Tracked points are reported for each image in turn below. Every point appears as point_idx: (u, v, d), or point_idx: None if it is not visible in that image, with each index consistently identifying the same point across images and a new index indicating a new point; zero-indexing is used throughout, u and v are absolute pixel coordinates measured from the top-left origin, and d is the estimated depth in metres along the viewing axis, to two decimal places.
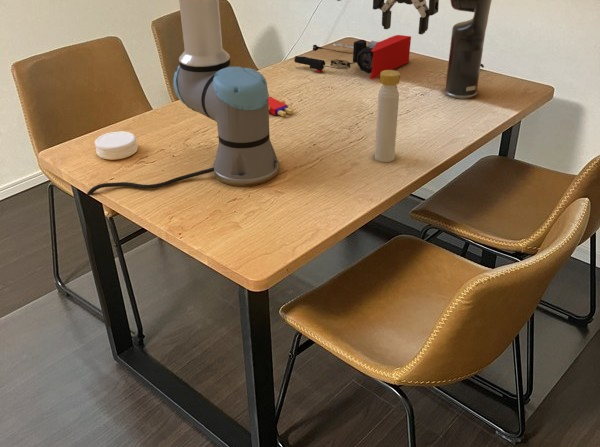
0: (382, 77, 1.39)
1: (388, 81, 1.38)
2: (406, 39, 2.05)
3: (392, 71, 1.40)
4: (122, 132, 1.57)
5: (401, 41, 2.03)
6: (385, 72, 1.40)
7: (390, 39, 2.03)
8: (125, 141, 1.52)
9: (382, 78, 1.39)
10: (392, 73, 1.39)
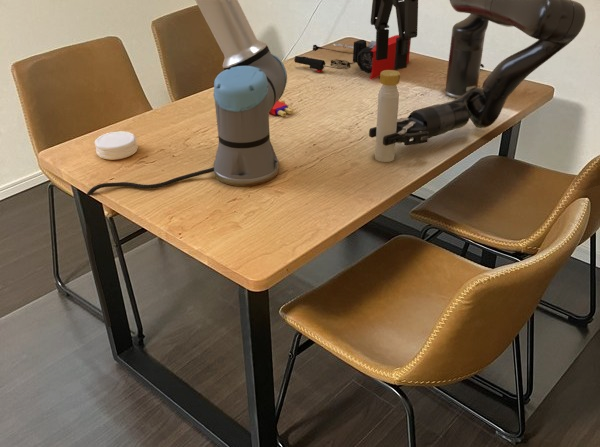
0: (382, 77, 1.39)
1: (388, 81, 1.38)
2: None
3: (392, 71, 1.40)
4: (122, 132, 1.57)
5: None
6: (385, 72, 1.40)
7: (390, 39, 2.03)
8: (125, 141, 1.52)
9: (382, 78, 1.39)
10: (392, 73, 1.39)
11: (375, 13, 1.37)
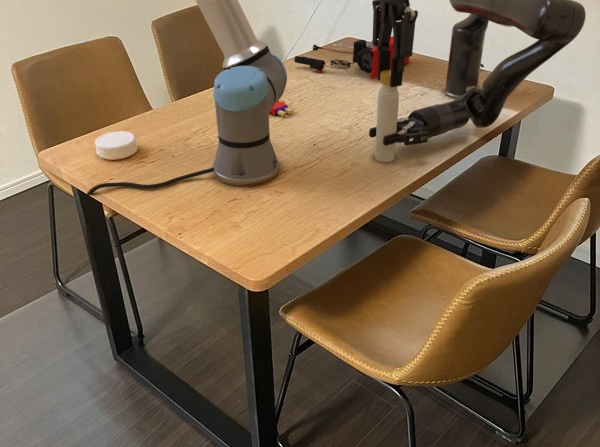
0: (382, 77, 1.39)
1: (388, 81, 1.38)
2: None
3: None
4: (122, 132, 1.57)
5: None
6: (385, 72, 1.40)
7: (390, 39, 2.03)
8: (125, 141, 1.52)
9: (382, 78, 1.39)
10: None
11: (376, 34, 1.38)
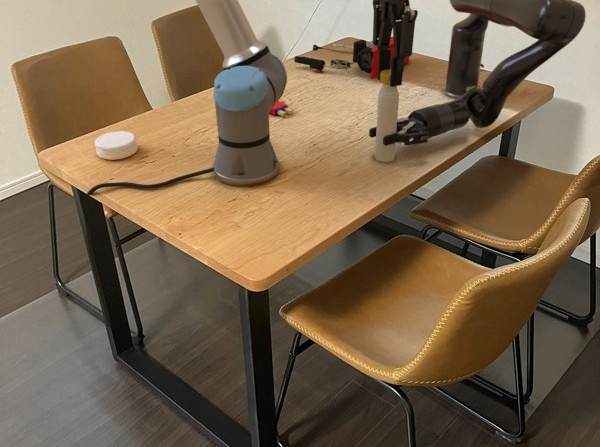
0: None
1: None
2: None
3: (384, 72, 1.40)
4: (122, 132, 1.57)
5: None
6: (390, 74, 1.39)
7: (390, 39, 2.03)
8: (125, 141, 1.52)
9: None
10: (389, 71, 1.40)
11: (377, 33, 1.38)
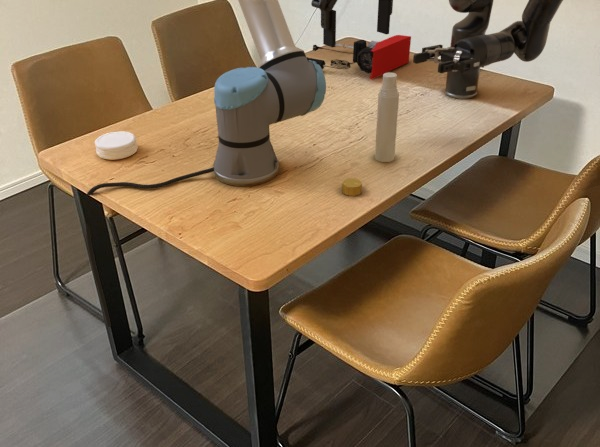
0: (352, 189, 1.34)
1: (358, 191, 1.35)
2: (406, 39, 2.05)
3: (349, 180, 1.37)
4: (122, 132, 1.57)
5: (401, 41, 2.03)
6: (348, 183, 1.35)
7: (390, 39, 2.03)
8: (125, 141, 1.52)
9: (352, 190, 1.35)
10: (353, 181, 1.36)
11: None
